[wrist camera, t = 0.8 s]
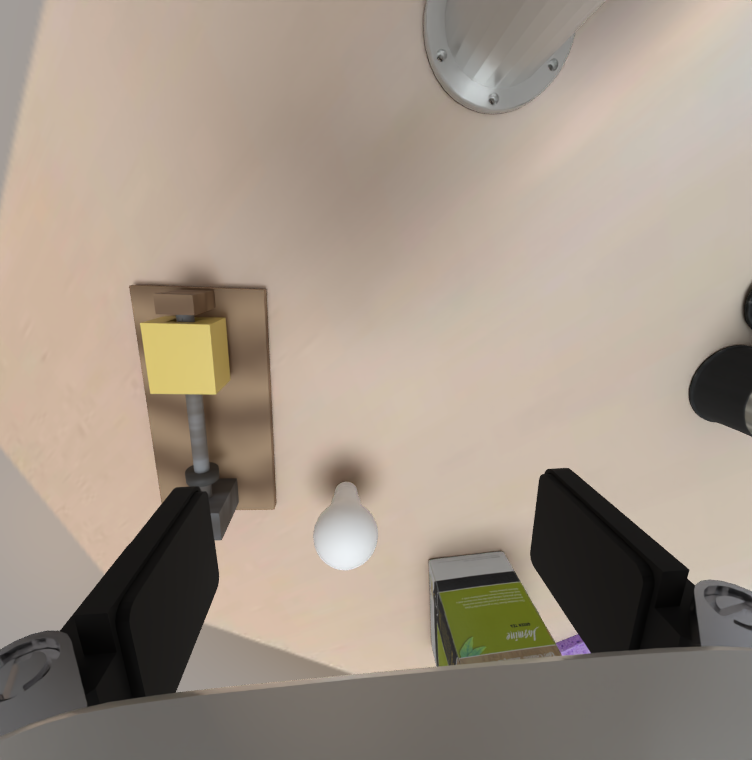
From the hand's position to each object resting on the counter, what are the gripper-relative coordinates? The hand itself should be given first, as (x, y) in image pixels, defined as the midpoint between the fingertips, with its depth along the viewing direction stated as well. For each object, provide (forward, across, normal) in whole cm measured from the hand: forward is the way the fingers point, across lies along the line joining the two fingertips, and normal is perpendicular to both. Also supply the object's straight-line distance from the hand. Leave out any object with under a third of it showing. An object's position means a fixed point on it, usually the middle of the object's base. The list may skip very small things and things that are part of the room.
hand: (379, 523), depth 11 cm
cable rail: (+30, +15, +6) cm, 34 cm away
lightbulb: (+30, +1, +17) cm, 34 cm away
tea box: (+30, -14, +34) cm, 48 cm away
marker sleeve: (+27, +14, 0) cm, 31 cm away
